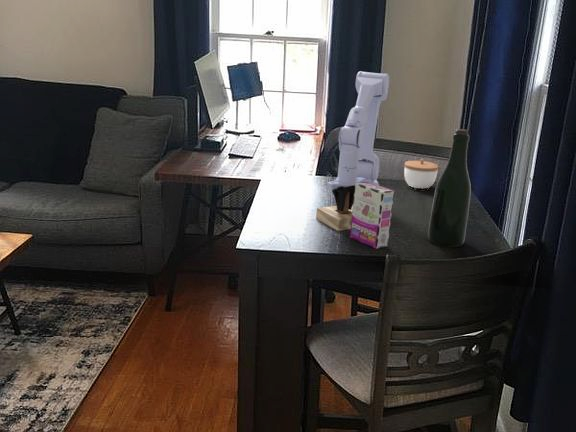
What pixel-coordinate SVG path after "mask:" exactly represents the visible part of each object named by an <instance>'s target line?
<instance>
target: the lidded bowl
mask: <svg viewBox="0 0 576 432" xmlns="http://www.w3.org/2000/svg"><path fill="white" fill-rule="evenodd" d="M438 171H439V165H438V164H436V163H434V162H432V161H431V162H430V161H425V159H424V158H420V160H408V161H407V160H406V161H405V162H404V169H403V172H404V173H403V175H404V180H405V182H406V184H407V185H408V187H409V186H411V187H414V188H422V189H423V188H428V189H429V188H430V187H432V186H433V184H435V182H436V179H437V175H438Z"/></svg>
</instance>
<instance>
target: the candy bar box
mask: <svg viewBox="0 0 576 432" xmlns="http://www.w3.org/2000/svg"><path fill="white" fill-rule="evenodd" d="M394 197H395V190H393V189H390V188H387V187H385V186H380V185H379V186H378V185H375V184H372V183H369V182H361V183H355V192H354V201H353V211H352V221H351V229H350V233H349V238H350V239H353V240H355V241H357V242H360V243H362V244H365V245H367V246H369V247H371V248H373V249H375V250H376V249H377V250H378V249H382V248H383V249H384V248H386V247H389V246H388V245H389V239H390V231H391V221H392V215H393V206H394V199H395V198H394Z"/></svg>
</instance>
